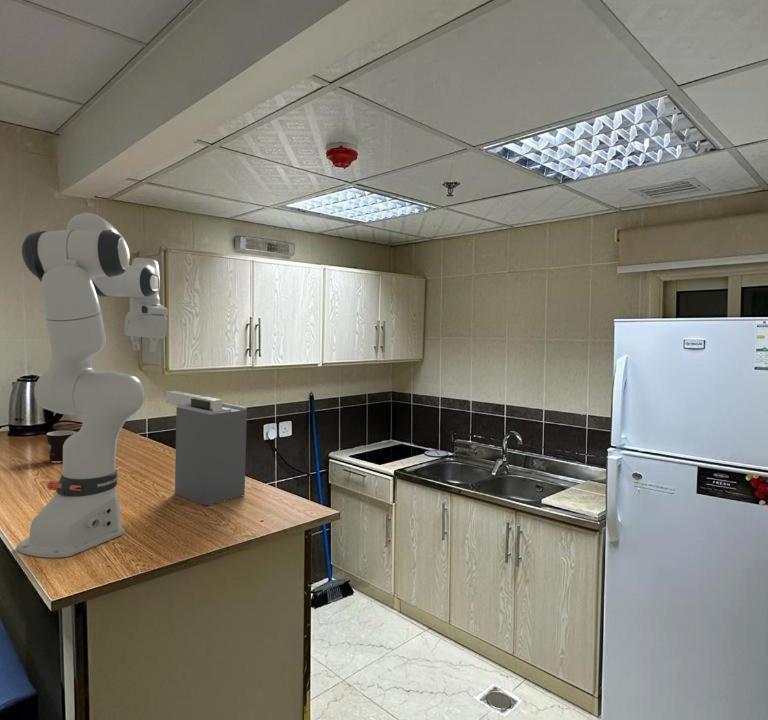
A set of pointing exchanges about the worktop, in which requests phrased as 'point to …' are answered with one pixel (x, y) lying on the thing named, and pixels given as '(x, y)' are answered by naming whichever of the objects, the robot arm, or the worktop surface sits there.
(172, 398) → the brushed metal post
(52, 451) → the coffee mug
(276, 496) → the worktop surface
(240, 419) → the tall grey pillar
